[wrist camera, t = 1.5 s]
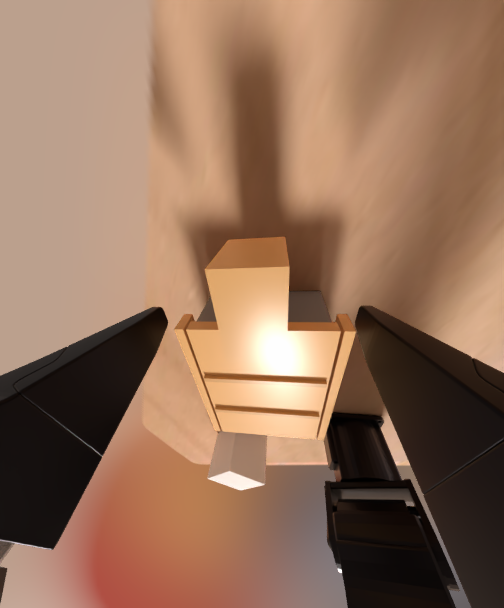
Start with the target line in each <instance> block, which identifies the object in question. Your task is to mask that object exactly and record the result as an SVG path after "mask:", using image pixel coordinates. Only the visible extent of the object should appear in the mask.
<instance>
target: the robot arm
mask: <svg viewBox="0 0 504 608" xmlns="http://www.w3.org/2000/svg"><path fill="white" fill-rule="evenodd" d="M167 325H168V320H167V317H166V315H165V312H164V310H163V308H161V307H152V308H149V309H147V310H145V311H143V312H141V313H139V314H136V315H134V316H132V317H130V318H128V319H126V320H123V321H121V322H119V323H117V324H115V325H113V326H111V327H108V328H106V329H104V330H102V331H100V332H98V333H95V334H93V335H91V336H89V337H87V338H84V339H82V340H80V341H78V342H76V343H74V344H71V345H69V346H68V347H65V348H63V349H61V350H58V351H56V352H54V353H52V354H50V355H47V356H45V357H43V358H41V359H39V360H36V361H34V362H32V363H29V364H27V365H25V366H22V367H20V368H18V369H15V370H13V371H10V372H8V373H6V374H3V375H1V376H0V563H1V562H2V560H3V559H4V557H5V556H6V555H7V554H8V552H9V551H10V549H11V548H12V547H13V545H14V544H15V543H16V544H22V545H27V546H32V547H38V548H43V549H49V550H53V549H54V547H55V546H56V544H57V543H58V541H59V539H60V537H61V535H62V533H63V532H64V530H65V528H66V526H67V524H68V522H69V520H70V518H71V516H72V514H73V512H74V510H75V509H76V507H77V505H78V503H79V501H80V499H81V497H82V495H83V493H84V491H85V489H86V487H87V485H88V484H89V482H90V480H91V478H92V476H93V474H94V472H95V470H96V468H97V466H98V464H99V462H100V461H101V458H102V456H103V454H104V453H105V451H106V449H107V447H108V445H109V443H110V441H111V439H112V437H113V435H114V433H115V432H116V430H117V428H118V426H119V424H120V422H121V420H122V418H123V416H124V414H125V412H126V410H127V409H128V407H129V404H130V403H131V401H132V399H133V397H134V395H135V393H136V391H137V389H138V387H139V386H140V384H141V382H142V380H143V378H144V376H145V374H146V372H147V370H148V368H149V366H150V364H151V363H152V361H153V359H154V357H155V355H156V353H157V351H158V348H159V346H160V343H161V341H162V338H163V336H164V333H165V331H166V328H167ZM355 327H356V330H357V334H358V337H359V341H360V344H361V347H362V351H363V354H364V357H365V360H366V362H367V365H368V367H369V369H370V372H371V374H372V376H373V379H374V381H375V383H376V386H377V388H378V390H379V393H380V395H381V397H382V400H383V402H384V404H385V407H386V409H387V411H388V414H389V416H390V418H391V421H392V423H393V425H394V428H395V430H396V432H397V435H398V437H399V439H400V442H401V444H402V446H403V449H404V451H405V453H406V456H407V458H408V460H409V463H410V465H411V467H412V470H413V472H414V474H415V476H416V479H417V481H418V484H419V486H420V488H421V491H422V493H423V494H424V498H425V500H426V503H427V505H428V507H429V510H430V512H431V514H432V517H433V519H434V521H435V524H436V526H437V528H438V531H439V533H440V535H441V538H442V540H443V542H444V545H445V547H446V549H447V552H448V554H449V556H450V559H451V561H452V563H453V566H454V568H455V570H456V573H457V575H458V577H459V580H460V582H461V584H462V587H463V589H464V591H465V594H466V596H467V598H468V601H469V603H470V605H471V608H504V373H503V372H501V371H499V370H497V369H495V368H493V367H491V366H489V365H487V364H485V363H483V362H481V361H479V360H477V359H475V358H472V357H471V356H469V355H467V354H465V353H463V352H461V351H459V350H457V349H455V348H453V347H451V346H449V345H447V344H445V343H443V342H441V341H439V340H438V339H436V338H434V337H432V336H430V335H428V334H426V333H424V332H422V331H420V330H418V329H416V328H414V327H412V326H410V325H408V324H406V323H404V322H402V321H400V320H398V319H396V318H394V317H392V316H390V315H389V314H387V313H385V312H383V311H381V310H379V309H377V308H375V307H373V306H361V307H360V308H359V310H358V314H357V317H356V321H355ZM383 423H384V420H383V418H382V417H378V416H364V415H349V414H335V413H332V415H331V418H330V422H329V425H328V428H327V432H326V435H325V438H324V444H325V450H326V455H327V461H328V466H329V468H330V470H334V473H335V479H336V482H331V481H325V486H324V487H325V497H326V510H327V542H328V545H329V547H330V548H331V550H332V551H333V554H334V558H335V562H336V565H337V568H338V570H339V572H340V573H341V574H342V575H343V580H344V585H345V590H346V598H347V605H348V608H456V607H455V604H454V602H453V599H452V597H451V595H450V592H449V590H455V591H460V590H459V588H458V585H457V582H456V580H455V578H454V575H453V573H452V571H451V568H450V566H449V564H448V562H447V559H446V557H445V555H444V553H443V550H442V548H441V546H440V543H439V541H438V539H437V537H436V534H435V532H434V530H433V528H432V526H431V524H430V522H429V519H428V517H427V515H426V513H425V511H424V509H423V506H422V504H421V502H420V500H419V498H418V496H417V493H416V491H415V489H414V487H413V484H412V482H411V480H410V479H404V480H402V479H401V476H400V474H399V472H398V469H397V467H396V464H395V462H394V460H393V457H392V455H391V452H390V450H389V448H388V445H387V443H386V440H385V438H384V436H383V433H382V431H381V426H382V425H383ZM405 501H412V502H413V503H414V506H407V505H406V503H405ZM6 572H7V568H4V567H0V602H1V597H2V592H3V587H4V582H5V577H6Z"/></svg>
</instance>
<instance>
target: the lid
mask: <svg viewBox="0 0 504 608" xmlns="http://www.w3.org/2000/svg"><path fill="white" fill-rule="evenodd" d="M289 268H290V266H289V260H288V253H287V246H286V239H285V237H269V238H251V239H232V240H228V241H227V242H226V243H225V245H224V246H223V247H222V248H221V250H220V251H219V252H218V253H217V255H216V256H215V257H214V258H213V260H212V261H211V262H210V263H209V265H208V266H207V267H206V268H205V273H206V278H207V282H208V286H209V290H210V295H211V299H212V303H213V308H214V312H215V316H216V320H217V322H195V321H194V318H193V314H184V316H183V317H182V318H181V320H180V321H179V323H178V324H177V326H176V327H175V329H174V330H175V333H176V335H177V338H178V340H179V343H180V345H181V348H182V350H183V353H184V355H185V358H186V360H187V363H188V365H189V368H190V370H191V373H192V375H193V377H194V380H195V382H196V385H197V387H198V390H199V392H200V395H201V397H202V400H203V402H204V405H205V407H206V410H207V412H208V415H209V417H210V420H211V422H212V424H213V427H214V429H215V431H221V429H222V431H223V432H234V433H246V434H257V435H269V436H280V437H291V438H303V439H314V440H315V439H316V434H317V440H324V438H325V435H326V432H327V428H328V425H329V422H330V418H331V415H332V411H333V408H334V405H335V401H336V398H337V395H338V391H339V388H340V384H341V381H342V378H343V374H344V371H345V368H346V364H347V361H348V358H349V354H350V351H351V347H352V344H353V341H354V337H355V334H356V330H355V328H354V326H353V325H352V323H351V321H350V319H349V317H348V315H347V314H337V317H336V322H288V300H289Z"/></svg>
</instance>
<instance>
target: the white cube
mask: <svg viewBox="0 0 504 608" xmlns="http://www.w3.org/2000/svg"><path fill="white" fill-rule="evenodd" d="M266 446H267V436H265V435H257V434H246V433H234V432H223V431H221V432H219V433H218V434H217V439H216V443H215V447H214V452H213V456H212V460H211V465H210V469H209V474H208V479H210V480H213V481H215V482H218V483H221V484H224V485H227V486H230V487H233V488H235V489H238V490H244V489H248V488H252V487H257V486H261V485H265V474H266Z"/></svg>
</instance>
